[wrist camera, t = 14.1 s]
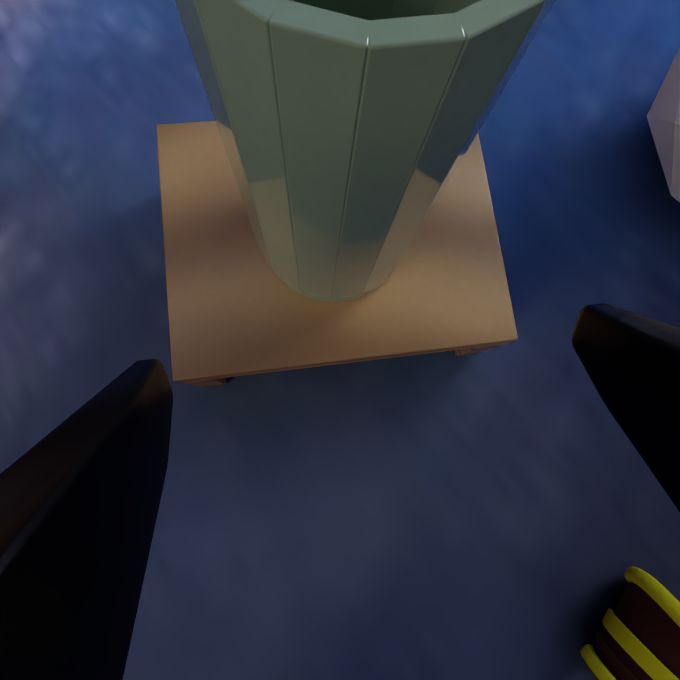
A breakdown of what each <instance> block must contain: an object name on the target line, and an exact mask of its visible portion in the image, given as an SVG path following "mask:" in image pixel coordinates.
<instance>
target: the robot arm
mask: <svg viewBox="0 0 680 680" xmlns="http://www.w3.org/2000/svg"><path fill="white" fill-rule="evenodd" d="M572 344H573V347H574V349H575V351H576V353H577V355H578V357H579V358H580V360H581V362H582V364H583V366H584V368H585V369H586V371H587V373H588V375H589V377H590V379H591V380H592V382H593V384H594V386H595V388H596V389H597V391H598V393H599V395H600V397H601V398H602V400H603V402H604V403H605V405H606V406H607V408H608V409H609V411H610V413H611V414H612V415H613V417H614V418H615V420H616V421H617V423H618V424H619V425H620V427H621V428H622V430H623V431H624V433H625V434H626V436H627V437H628V438H629V440H630V441H631V443H632V444H633V446H634V447H635V448H636V450H637V451H638V453H639V454H640V456H641V457H642V459H643V460H644V461H645V463H646V464H647V466H648V467H649V469H650V470H651V471H652V473H653V474H654V476H655V477H656V479H657V480H658V482H659V483H660V484H661V486H662V487H663V489H664V490H665V492H666V493H667V494H668V496H669V497H670V499H671V500H672V502H673V503H674V505H675V506H676V507H677V509H678V510H679V512H680V327H676V326H673V325H670V324H667V323H664V322H661V321H658V320H655V319H652V318H648V317H645V316H642V315H639V314H636V313H633V312H630V311H627V310H624V309H621V308H617V307H614V306H611V305H608V304H602V303H601V304H593V305H587V306H585V307H583V308H582V310H581V311H580V314H579V317H578V320H577V323H576V326H575V329H574V332H573V335H572ZM172 406H173V393H172V389H171V386H170V383H169V381H168V378H167V375H166V373H165V370H164V368H163V365H162V363H161V362H160V360H158V359H147V360H139V361H136V362H135V363H134V364H132V365H131V366H130V367H129V368H128V369H126V370H125V371H124V372H123V373H122V374H120V375H119V376H118V377H117V378H116V379H114V380H113V381H112V382H111V383H110V384H108V385H107V386H106V387H105V388H103V389H102V390H101V391H100V392H99V393H97V394H96V395H95V396H94V397H93V398H91V399H90V400H89V401H88V402H87V403H85V404H84V405H83V406H82V407H81V408H79V409H78V410H77V411H76V412H75V413H73V414H72V415H71V416H70V417H69V418H67V419H66V420H65V421H64V422H62V423H61V424H60V425H59V426H58V427H56V428H55V429H54V430H53V431H52V432H50V433H49V434H48V435H47V436H46V437H44V438H43V439H42V440H41V441H40V442H38V443H37V444H36V445H35V446H33V447H32V448H31V449H30V450H29V451H27V452H26V453H25V454H24V455H23V456H21V457H20V458H19V459H18V460H17V461H15V462H14V463H13V464H12V465H11V466H9V467H8V468H7V469H6V470H4V471H3V472H2V473H1V474H0V680H123V675H124V670H125V665H126V661H127V656H128V651H129V646H130V642H131V637H132V632H133V627H134V623H135V618H136V613H137V608H138V604H139V599H140V594H141V589H142V585H143V580H144V575H145V571H146V566H147V561H148V556H149V552H150V547H151V542H152V537H153V533H154V528H155V523H156V518H157V514H158V509H159V504H160V499H161V495H162V490H163V485H164V480H165V475H166V470H167V464H168V454H169V442H170V430H171V418H172Z"/></svg>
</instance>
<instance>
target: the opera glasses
mask: <svg viewBox="0 0 680 680" xmlns="http://www.w3.org/2000/svg"><path fill="white" fill-rule="evenodd" d="M625 578H626V580H627V582H628V583H629V585H628V586H627V588H626V590H625V592H624V594H623V595H622V597H621V599H620V601H619V603H618V604H617V606H616V608H615V610H614V611H613V610H612V609H610V608H608V610H607V612H606V614H605V616H604V618H603V620H602V623H603V625H604V627H605V628H604V630H603V631H602V633H601V632H597V633H596V638H597V642H596V644H595V646H592V645H590V644H587V645H585V646H584V647H583V648H582V650H581V652H580V653H581V655H582V657H583V659H584V660H585V662H586V663H587V665H588V666H589V668H590V669H591V670H592V672H593V673H594V674H595V675H596V677H597V678H598V679H599V680H680V602H679V601H678V600H677V599H676V598H675V597H674V596H673V595H672V594H671V593H670V592H669V591H668V590H667V589H666V588H665V587H664V586H663V585H662V584H660V583H659V582H658V581H657V580H656V579H655V578H654V577H652V576H651V575H650V574H648V573H647V572H645V571H644V570H642V569H640V568H637V567H634V566H632V567H629V568H627V569H626V571H625Z"/></svg>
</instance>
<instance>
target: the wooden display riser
mask: <svg viewBox="0 0 680 680" xmlns="http://www.w3.org/2000/svg"><path fill="white" fill-rule="evenodd" d="M156 130H157V146H158V161H159V176H160V192H161V207H162V222H163V238H164V253H165V268H166V283H167V299H168V314H169V329H170V345H171V360H172V375H173V381H177V382H182V383H186V384H191V385H196V386H201V387H209V386H217V385H225V384H227V377H235V376H243V375H252V374H260V373H268V372H277V371H285V370H293V369H302V368H310V367H319V366H327V365H335V364H344V363H352V362H360V361H369V360H377V359H385V358H394V357H402V356H410V355H419V354H427V353H435V352H444V351H452V350H454V352H455V356H465V355H473V354H478V353H481V352H484V351H487V350H490V349H493V348H496V347H498V346H501V345H504V344H507V343H510V342H513V341H516V340H518V335H517V329H516V324H515V319H514V314H513V309H512V304H511V298H510V293H509V288H508V283H507V278H506V273H505V267H504V262H503V257H502V252H501V247H500V242H499V236H498V231H497V226H496V221H495V216H494V211H493V205H492V200H491V195H490V190H489V185H488V180H487V174H486V169H485V164H484V159H483V154H482V148H481V143H480V138H479V133H477V135H476V137H475V138H474V140H473V142H472V143H471V145H470V147H469V149H468V150H467V152H466V154H465V155H464V157H463V159H462V160H461V162H460V164H459V165H458V167H457V169H456V171H455V172H454V174H453V176H452V177H451V179H450V181H449V182H448V184H447V186H446V188H445V189H444V191H443V193H442V194H441V196H440V198H439V199H438V201H437V203H436V204H435V206H434V208H433V210H432V211H431V213H430V215H429V216H428V218H427V220H426V221H425V223H424V225H423V226H422V228H421V230H420V232H419V233H418V235H417V237H416V238H415V240H414V242H413V243H412V245H411V247H410V249H409V250H408V252H407V254H406V255H405V257H404V258H403V259H402V261H401V262H400V264H399V265H398V267H397V268H396V270H395V271H394V273H393V274H392V275H391V276H390V278H389V279H388V280H387V281H386V282H385V283H384V284H382V285H381V286H380V287H379V288H377V289H376V290H374V291H373V292H371V293H369V294H367V295H365V296H362V297H360V298H357V299H353V300H348V301H341V302H327V301H320V300H315V299H312V298H308V297H305V296H303V295H301V294H299V293H297V292H295V291H294V290H292V289H290V288H289V287H287V286H286V285H285V284H284V283H283V282H281V281H280V280H279V279H278V278H277V277H276V275H275V274H274V273H273V272H272V270H271V269H270V268H269V266H268V264H267V262H266V260H265V259H264V256H263V254H262V252H261V250H260V248H259V246H258V243H257V241H256V238H255V235H254V232H253V229H252V226H251V223H250V220H249V217H248V214H247V211H246V209H245V206H244V203H243V200H242V197H241V194H240V191H239V188H238V185H237V182H236V179H235V176H234V174H233V171H232V168H231V165H230V162H229V159H228V156H227V153H226V150H225V147H224V144H223V141H222V139H221V136H220V133H219V130H218V127H217V124H216V121H203V122H189V123H175V124H161V125H157V126H156Z"/></svg>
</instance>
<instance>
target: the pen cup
mask: <svg viewBox="0 0 680 680" xmlns="http://www.w3.org/2000/svg"><path fill="white" fill-rule="evenodd" d="M555 1H556V0H174V2H175V4H176V7H177V10H178V13H179V16H180V19H181V22H182V25H183V28H184V31H185V34H186V37H187V39H188V42H189V45H190V48H191V51H192V54H193V57H194V60H195V63H196V66H197V69H198V71H199V74H200V77H201V80H202V83H203V86H204V89H205V92H206V95H207V98H208V101H209V104H210V106H211V109H212V112H213V115H214V118H215V121H216V124H217V127H218V130H219V133H220V136H221V139H222V141H223V144H224V147H225V150H226V153H227V156H228V159H229V162H230V165H231V168H232V171H233V174H234V176H235V179H236V182H237V185H238V188H239V191H240V194H241V197H242V200H243V203H244V206H245V209H246V211H247V214H248V217H249V220H250V223H251V226H252V229H253V232H254V235H255V238H256V241H257V243H258V246H259V248H260V250H261V252H262V254H263V256H264V259H265V260H266V262H267V264H268V266H269V268H270V269H271V270H272V272H273V273H274V274H275V275H276V277H277V278H278V279H279V280H280V281H281V282H283V283H284V284H285V285H286V286H287V287H289V288H290V289H292V290H294V291H295V292H297V293H299V294H301V295H303V296H305V297H308V298H312V299H315V300H320V301H327V302H341V301H348V300H353V299H357V298H360V297H362V296H365V295H367V294H369V293H371V292H373V291H374V290H376V289H377V288H379V287H380V286H381V285H382V284H384V283H385V282H386V281H387V280H388V279H389V278H390V276H391V275H392V274H393V273H394V271H395V270H396V268H397V267H398V265H399V264H400V262H401V261H402V259H403V258H404V257H405V255H406V254H407V252H408V250H409V249H410V247H411V245H412V243H413V242H414V240H415V238H416V237H417V235H418V233H419V232H420V230H421V228H422V226H423V225H424V223H425V221H426V220H427V218H428V216H429V215H430V213H431V211H432V210H433V208H434V206H435V204H436V203H437V201H438V199H439V198H440V196H441V194H442V193H443V191H444V189H445V188H446V186H447V184H448V182H449V181H450V179H451V177H452V176H453V174H454V172H455V171H456V169H457V167H458V165H459V164H460V162H461V160H462V159H463V157H464V155H465V154H466V152H467V150H468V149H469V147H470V145H471V143H472V142H473V140H474V138H475V137H476V135H477V133H478V132H479V130H480V128H481V127H482V125H483V123H484V121H485V120H486V118H487V116H488V115H489V113H490V111H491V110H492V108H493V106H494V104H495V103H496V101H497V99H498V98H499V96H500V94H501V93H502V91H503V89H504V88H505V86H506V84H507V82H508V81H509V79H510V77H511V76H512V74H513V72H514V71H515V69H516V67H517V66H518V64H519V62H520V60H521V59H522V57H523V55H524V54H525V52H526V50H527V49H528V47H529V45H530V44H531V42H532V40H533V38H534V37H535V35H536V33H537V32H538V30H539V28H540V27H541V25H542V23H543V21H544V20H545V18H546V16H547V15H548V13H549V11H550V10H551V8H552V6H553V5H554V3H555Z"/></svg>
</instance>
